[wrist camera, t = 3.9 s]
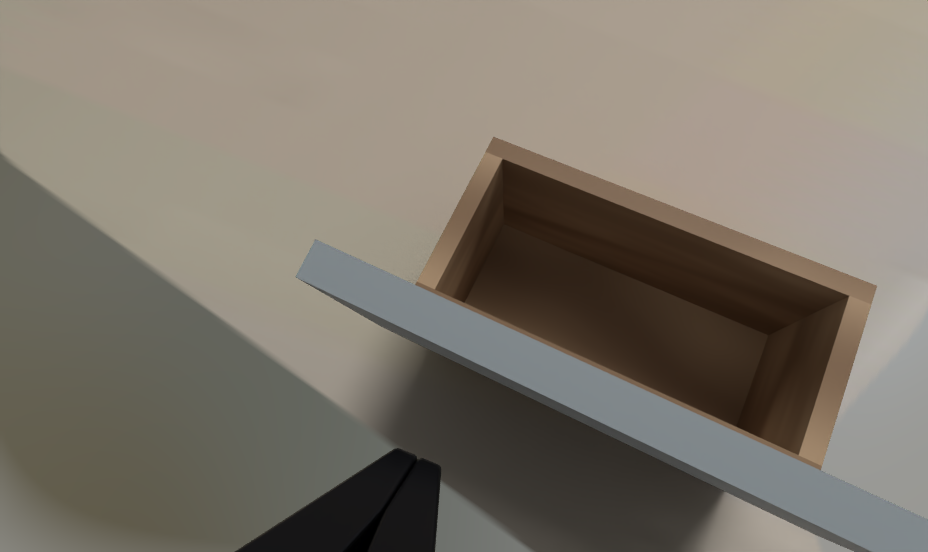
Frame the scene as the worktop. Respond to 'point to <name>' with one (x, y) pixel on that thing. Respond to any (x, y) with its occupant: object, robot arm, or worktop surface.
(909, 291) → the worktop surface
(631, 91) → the worktop surface
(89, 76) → the worktop surface
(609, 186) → the walnut box
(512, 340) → the box lid
